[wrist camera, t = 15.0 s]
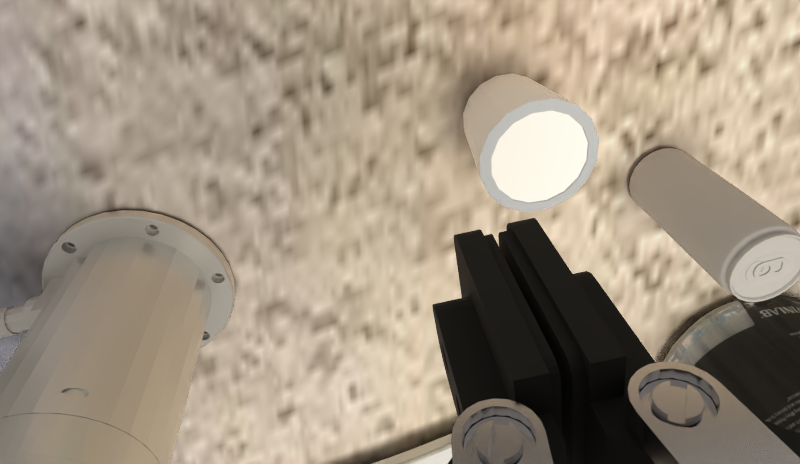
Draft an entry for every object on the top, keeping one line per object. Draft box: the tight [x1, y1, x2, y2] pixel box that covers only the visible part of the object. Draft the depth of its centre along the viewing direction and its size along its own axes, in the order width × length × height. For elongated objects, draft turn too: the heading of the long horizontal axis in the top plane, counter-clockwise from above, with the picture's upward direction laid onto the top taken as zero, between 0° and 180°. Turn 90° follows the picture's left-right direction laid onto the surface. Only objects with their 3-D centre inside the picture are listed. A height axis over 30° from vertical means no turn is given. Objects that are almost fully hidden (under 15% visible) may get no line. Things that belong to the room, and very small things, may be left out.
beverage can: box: [629, 148, 800, 302], centre depth 36 cm, size 5×5×12 cm
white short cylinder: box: [463, 73, 599, 212], centre depth 34 cm, size 7×7×7 cm
